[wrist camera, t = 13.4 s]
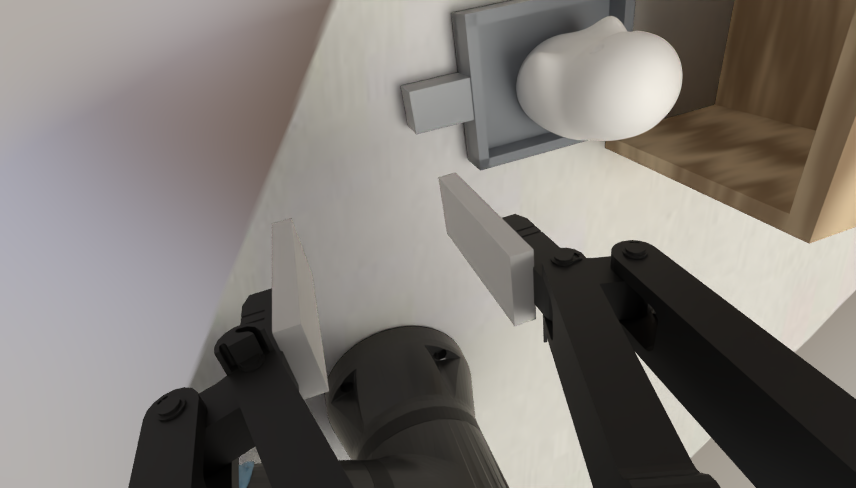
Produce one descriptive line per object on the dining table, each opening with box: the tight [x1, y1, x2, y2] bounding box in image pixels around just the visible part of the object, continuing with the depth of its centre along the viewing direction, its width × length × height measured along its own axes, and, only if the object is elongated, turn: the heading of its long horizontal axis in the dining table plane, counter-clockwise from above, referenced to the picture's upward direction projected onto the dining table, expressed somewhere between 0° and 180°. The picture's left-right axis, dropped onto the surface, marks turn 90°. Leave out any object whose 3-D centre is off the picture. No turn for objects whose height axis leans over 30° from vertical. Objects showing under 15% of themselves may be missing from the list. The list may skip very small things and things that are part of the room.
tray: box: [401, 0, 635, 170], centre depth 33 cm, size 18×11×3 cm, turn 99°
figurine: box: [516, 16, 683, 141], centre depth 29 cm, size 7×8×12 cm
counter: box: [605, 0, 856, 243], centre depth 30 cm, size 13×16×18 cm
